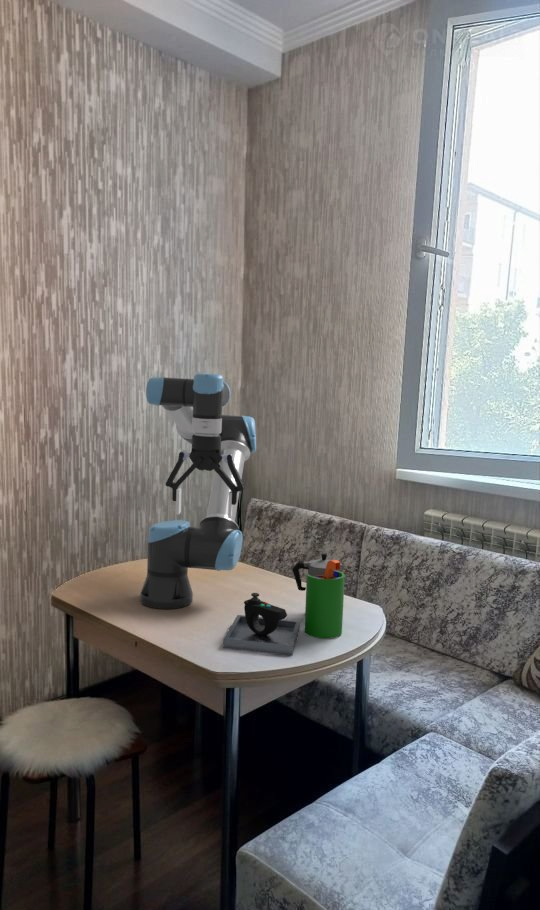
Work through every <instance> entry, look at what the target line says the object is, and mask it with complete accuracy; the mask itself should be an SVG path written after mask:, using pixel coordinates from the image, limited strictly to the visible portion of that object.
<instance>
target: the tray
mask: <svg viewBox="0 0 540 910" xmlns="http://www.w3.org/2000/svg"><path fill="white" fill-rule="evenodd" d="M258 619H259V623H260V625H261V626H262V627H263V628H265V621H264V619H263V618H262V616H259V618H258ZM300 632H301V620H293V619H292V620H291V619H285V618H284V619H282V620H279V622H278V626H277V628H276V629H275V631H273V632H272V633H270V634H268V635H263V636H261V635H257V634H256V633H254V632H253V631H252V630H251V629H250V628H249V626H248V624H247V622H246V617H245V614H244V615H242V614H237V615H236V617H235V618H234V620H233V622H232V624H231V625H230V627H229V628H228V630H227V632H226V634H225V635H224V637H223V649H229V650H236V651H237V650H238V651H245V652H246V651H248V652H254V653H255V652H256V653H267V654H275V655H284V656H293V655H294V651H295V649H296V648H295V647H296V645H297V642H298V639H299V636H300Z"/></svg>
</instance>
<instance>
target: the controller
mask: <svg viewBox="0 0 540 910" xmlns="http://www.w3.org/2000/svg"><path fill="white" fill-rule="evenodd" d="M250 596H251V598H249V599H247V600H244V601H243V604H244V607H243V608H244V616H245V617H246V622H247V624H248V626H249V628H250V629H251V630H252V631H253V632H254V633H256V634H257V635H261V636H263V635H268V634H270V633H272V632H273V631H275V629H276V628H277V626H278V622H279V620H282V619H284V620H285V619H286V618H287V616H288V613H287V611H286V609H285V608H282V607H279V606H276V605H272V604H270V603H268V602H266V601H262V600H261V599H259V597H260V594H259V593H258V592H252V593H251V595H250ZM259 617H262V618H263V619H264V621H265V628H263V627H262V626H261V625H260V623H259V619H258V618H259Z"/></svg>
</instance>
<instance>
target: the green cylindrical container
mask: <svg viewBox="0 0 540 910" xmlns="http://www.w3.org/2000/svg"><path fill="white" fill-rule="evenodd" d="M340 563H341V561H339V560H338V559H331V561H328V563H327V565H326V570H325V575H318V576H314V577H313V576H310V575H308V574H307V575H306V586H305V587H306V590H305V608H304V609H305V611H304V633H305V635H307V636H309V637H312V638H317V639H335V638H338V637H340V636H342V634H343V616H344V595H345V577H346V574H345V573H343V572H342V571H341V572H340V571H337V570H340Z"/></svg>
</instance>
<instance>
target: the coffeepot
mask: <svg viewBox="0 0 540 910" xmlns="http://www.w3.org/2000/svg"><path fill="white" fill-rule="evenodd" d="M327 557H328V554H327V553H321V559H314V560H313V559H312V560H308V561H298V562H297V563H296V564H295V565H294V566H293V567H292V573H293V577H294V580H295V583H296V586H297V589H298V591H305V592H306V586H302V579H301V577H300V576H301V574H300V569H303V570H307V575H310V576H313V577H314V576H318V575H325V570H326V565H327V563H328V561H331V560H332V559H331V560H329V559H327ZM346 567H347V565H346V564H345V563H342V562H340V570H337V571H340V572H342V571H343V570H344V569H345V568H346Z"/></svg>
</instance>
